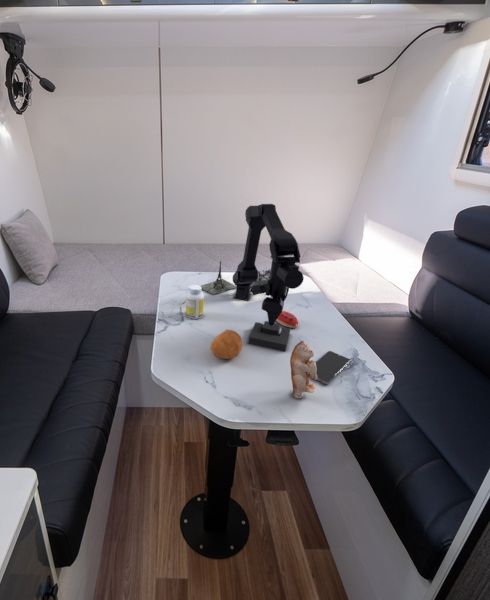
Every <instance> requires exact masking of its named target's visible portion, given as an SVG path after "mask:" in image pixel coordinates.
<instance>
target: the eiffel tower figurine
mask: <svg viewBox="0 0 490 600" xmlns="http://www.w3.org/2000/svg"><path fill="white" fill-rule="evenodd" d="M221 270H222V260H220V261H219V268H218V275H217V277H216V279H215V281H212V282H208V283H206V284H202V285H200V286H201V287H202V290H204V291H206V292H208V293H210V294H212V295H214V294H220V293H222V292H225V291H229V290H233V289H236V287H237V285H235V284H234V283H231V282H229V281H227V280H225V279H223V278H222V271H221Z"/></svg>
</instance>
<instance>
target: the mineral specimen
mask: <svg viewBox="0 0 490 600" xmlns="http://www.w3.org/2000/svg"><path fill="white" fill-rule="evenodd" d="M270 272H271V268H269V269H263V270H261V271H259V270H258V278H257V281H261V280H268V279H269V277H270Z"/></svg>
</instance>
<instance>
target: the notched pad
mask: <svg viewBox="0 0 490 600" xmlns="http://www.w3.org/2000/svg"><path fill="white" fill-rule="evenodd" d="M263 325H264V323H261V322H257V321H256V322H254V324H253V327H252V329H251V331H250V334H249V336H248V342H247V343H248V344H249V345H254V346H258V347H263V348H267V349H271V350H278V351H281V352H286V350H287V346H288V343H289V339H290V334H291V328H289V327H281V329H280V332H279V335H278V336H276V335H271V334H266V333H262V328H263Z"/></svg>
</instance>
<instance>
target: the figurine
mask: <svg viewBox="0 0 490 600" xmlns="http://www.w3.org/2000/svg"><path fill="white" fill-rule="evenodd" d="M314 354H315V351H313V350H311V348H310V346H309V345H308V344H306V343H305V341H304V340H301V341H299V342H298V343H297V344H295V345H294V347H293V350H292V352H291V355H290V358H289V359H290V360H289V365H290V378H291V379H290V380H291V384H292V396H293V398H295V399H302V398H304V393H310V394H313V393H314V392H315V389H316V385H315V384H313V383H312V382H311V380H315V381H317V380H316V379H317V374H316V372H317V367H316V363H315V362H316V361H314V360H311V358H313V357H314V356H315V355H314Z"/></svg>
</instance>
